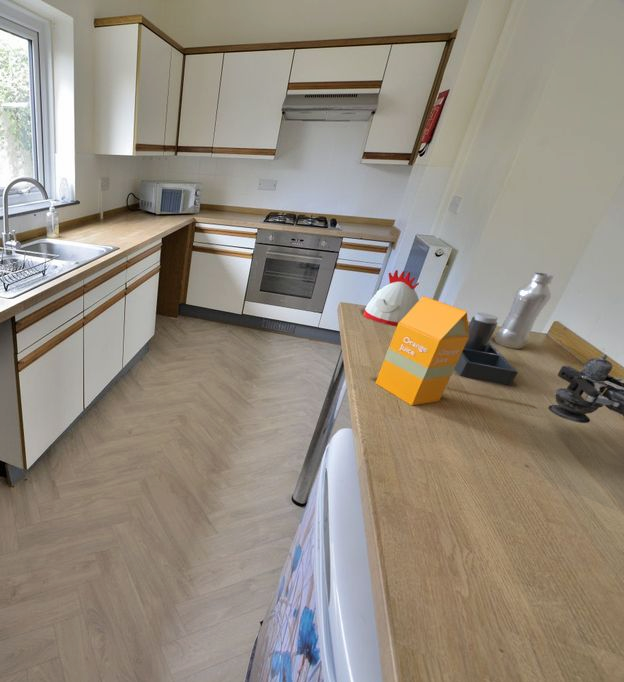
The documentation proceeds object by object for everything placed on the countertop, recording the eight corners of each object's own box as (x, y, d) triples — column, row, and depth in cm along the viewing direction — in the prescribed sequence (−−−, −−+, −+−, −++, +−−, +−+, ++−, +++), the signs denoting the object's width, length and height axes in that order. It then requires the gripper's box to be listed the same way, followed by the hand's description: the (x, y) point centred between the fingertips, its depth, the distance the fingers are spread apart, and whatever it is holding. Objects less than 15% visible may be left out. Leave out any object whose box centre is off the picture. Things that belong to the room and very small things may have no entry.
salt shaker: (590, 428, 70) (631, 366, 64) (543, 412, 74) (579, 352, 68) (593, 416, 73) (632, 356, 68) (548, 401, 77) (582, 344, 72)
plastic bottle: (500, 349, 108) (537, 276, 100) (486, 339, 114) (520, 269, 106) (529, 353, 107) (569, 279, 98) (512, 342, 113) (549, 272, 104)
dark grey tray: (482, 356, 104) (489, 341, 103) (509, 388, 90) (518, 372, 88) (440, 348, 108) (446, 334, 106) (459, 377, 93) (466, 362, 91)
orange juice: (411, 405, 82) (451, 312, 73) (374, 383, 89) (407, 296, 81) (440, 401, 84) (482, 310, 75) (401, 379, 91) (436, 294, 83)
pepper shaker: (475, 355, 103) (496, 314, 98) (482, 363, 99) (503, 321, 94) (453, 351, 105) (471, 310, 100) (458, 358, 101) (478, 317, 96)
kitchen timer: (376, 308, 134) (392, 263, 127) (423, 322, 124) (443, 274, 117) (355, 315, 127) (370, 268, 120) (403, 331, 117) (423, 281, 110)
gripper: (620, 448, 59) (522, 386, 75) (725, 456, 58) (604, 392, 74) (652, 405, 56) (543, 349, 72) (764, 413, 55) (629, 355, 71)
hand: (575, 371), depth 73 cm, fingers closed on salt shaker, 3 cm apart
